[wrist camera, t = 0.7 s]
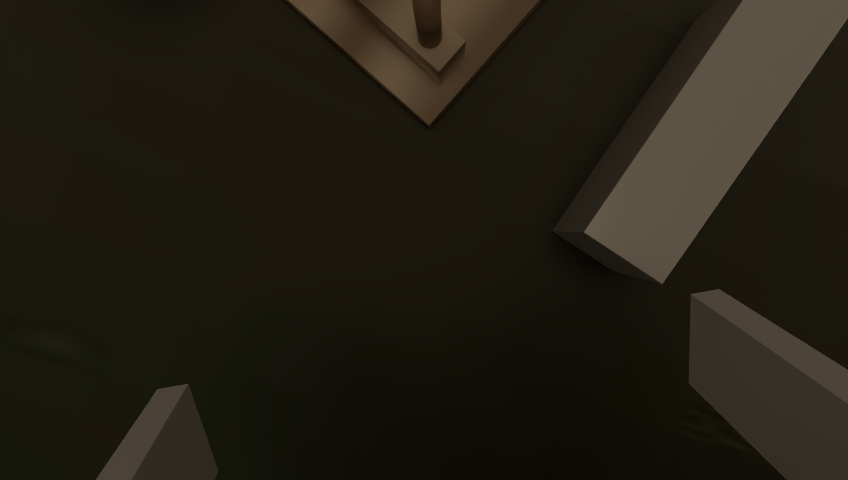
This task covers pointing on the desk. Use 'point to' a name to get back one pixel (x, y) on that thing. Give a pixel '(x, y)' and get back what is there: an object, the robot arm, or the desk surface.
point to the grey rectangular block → (696, 131)
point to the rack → (419, 42)
